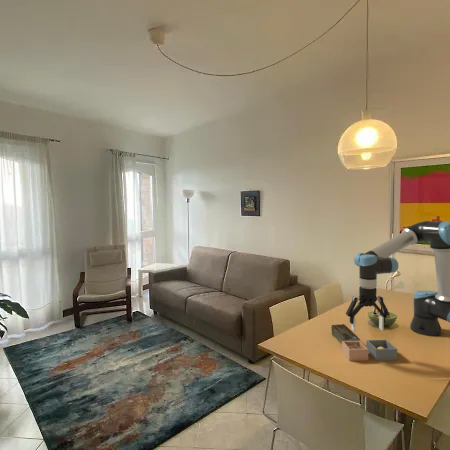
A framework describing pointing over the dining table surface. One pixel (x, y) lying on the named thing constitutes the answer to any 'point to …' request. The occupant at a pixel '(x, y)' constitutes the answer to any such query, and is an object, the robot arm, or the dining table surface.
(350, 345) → the walnut cube
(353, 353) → the pink open box
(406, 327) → the dining table surface
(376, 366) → the dining table surface
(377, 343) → the grey tub
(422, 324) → the robot arm
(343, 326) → the dark grey long box
